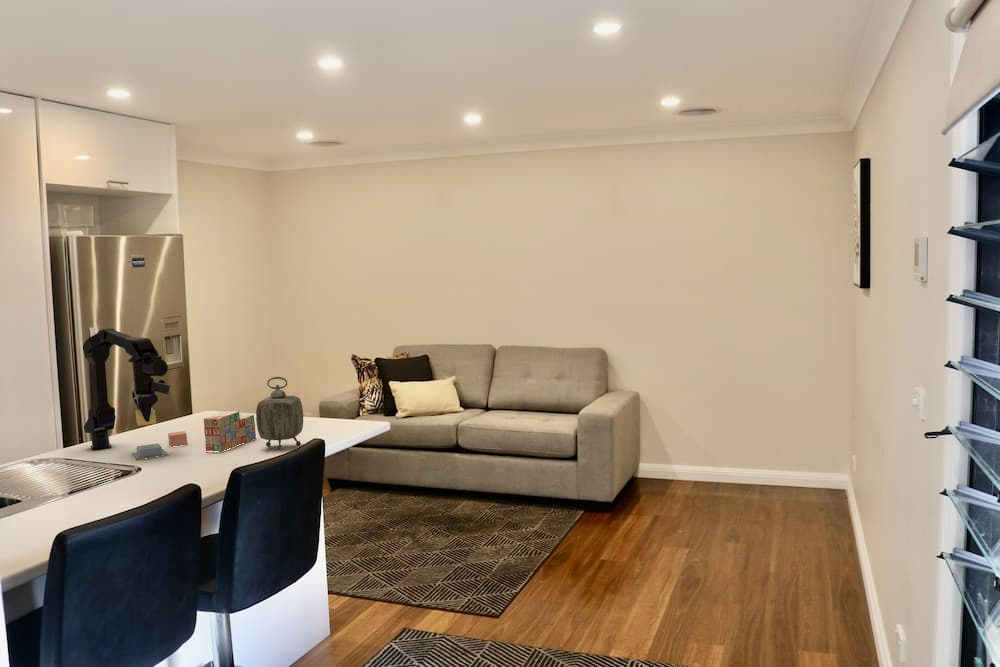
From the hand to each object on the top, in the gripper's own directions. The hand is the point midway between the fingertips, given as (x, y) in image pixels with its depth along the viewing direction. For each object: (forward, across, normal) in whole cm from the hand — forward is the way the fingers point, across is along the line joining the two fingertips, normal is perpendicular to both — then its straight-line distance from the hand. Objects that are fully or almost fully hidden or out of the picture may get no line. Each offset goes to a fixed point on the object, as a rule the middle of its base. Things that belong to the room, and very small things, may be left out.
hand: (146, 420), depth 288 cm
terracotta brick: (+12, +10, -11) cm, 19 cm away
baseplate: (+12, 0, 0) cm, 12 cm away
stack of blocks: (+13, -4, -27) cm, 30 cm away
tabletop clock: (+13, -20, -40) cm, 47 cm away
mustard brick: (+1, 0, 0) cm, 1 cm away
